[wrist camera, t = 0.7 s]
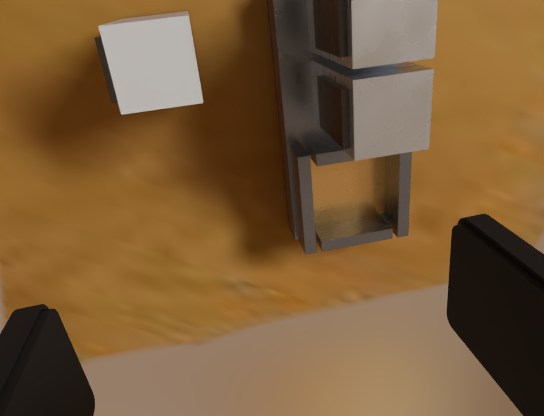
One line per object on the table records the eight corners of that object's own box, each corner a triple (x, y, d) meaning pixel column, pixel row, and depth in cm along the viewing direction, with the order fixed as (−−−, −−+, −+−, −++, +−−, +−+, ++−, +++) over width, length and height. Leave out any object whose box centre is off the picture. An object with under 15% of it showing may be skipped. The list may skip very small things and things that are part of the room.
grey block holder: (266, -16, 27) (304, -24, 18) (389, -30, 28) (483, -44, 19) (289, 227, 35) (325, 306, 26) (385, 210, 36) (451, 280, 27)
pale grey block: (115, 19, 27) (88, 27, 19) (188, 11, 27) (188, 15, 20) (131, 86, 28) (112, 115, 21) (199, 77, 29) (203, 103, 22)
